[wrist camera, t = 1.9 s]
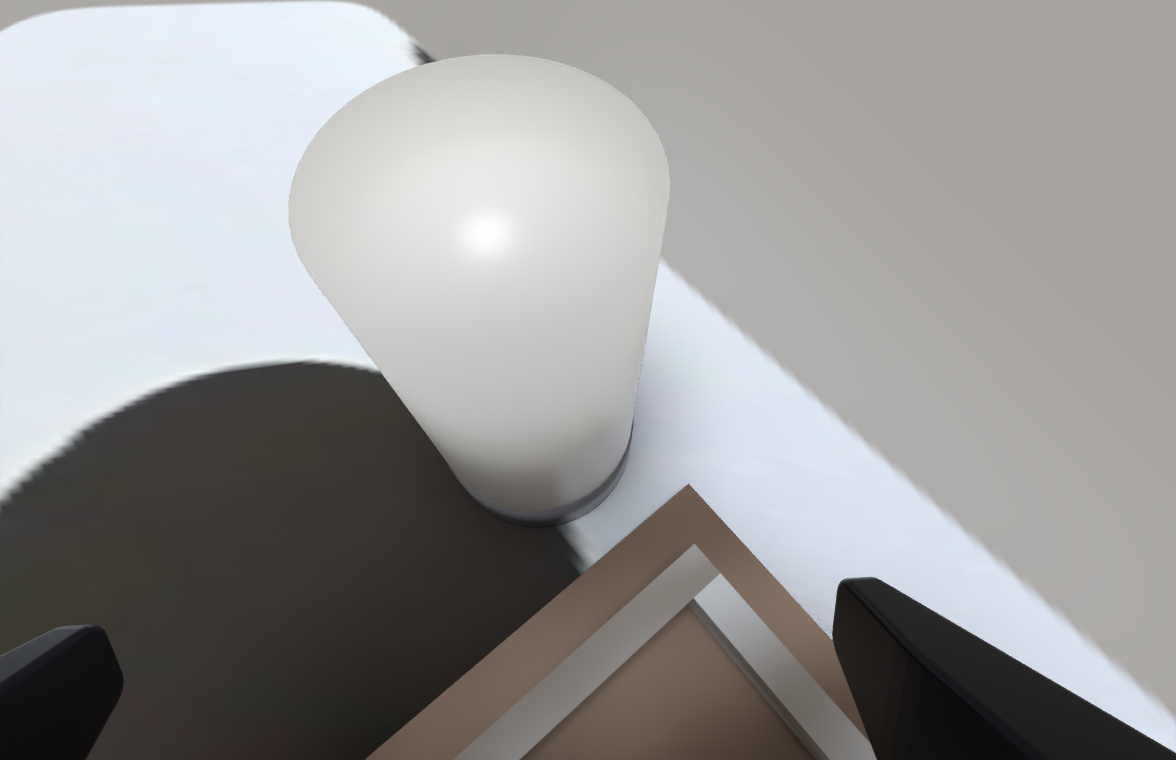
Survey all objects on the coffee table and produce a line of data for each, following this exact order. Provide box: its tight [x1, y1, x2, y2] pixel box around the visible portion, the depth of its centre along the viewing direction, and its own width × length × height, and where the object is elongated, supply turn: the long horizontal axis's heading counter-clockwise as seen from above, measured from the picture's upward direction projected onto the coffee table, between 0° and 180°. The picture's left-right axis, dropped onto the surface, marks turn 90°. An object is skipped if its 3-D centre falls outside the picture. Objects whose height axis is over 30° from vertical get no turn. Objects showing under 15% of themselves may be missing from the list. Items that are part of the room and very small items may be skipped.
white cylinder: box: [289, 54, 670, 527], centre depth 15 cm, size 6×6×12 cm
